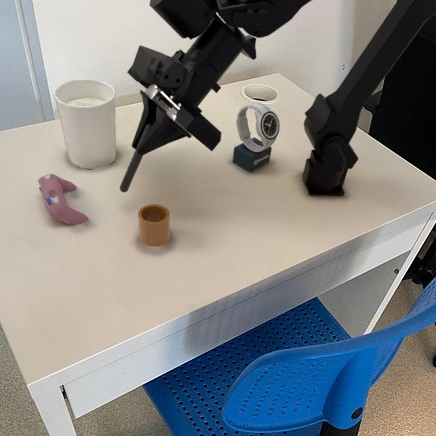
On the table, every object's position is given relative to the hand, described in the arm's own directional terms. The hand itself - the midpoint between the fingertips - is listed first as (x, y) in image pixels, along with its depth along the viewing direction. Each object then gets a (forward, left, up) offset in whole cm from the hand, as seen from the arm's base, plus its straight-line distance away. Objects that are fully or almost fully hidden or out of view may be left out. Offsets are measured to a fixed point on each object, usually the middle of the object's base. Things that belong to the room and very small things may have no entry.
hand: (136, 151), depth 72 cm
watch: (-20, -14, -11) cm, 27 cm away
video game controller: (+12, +1, -11) cm, 16 cm away
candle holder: (+9, -15, -11) cm, 21 cm away
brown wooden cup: (-2, +8, -11) cm, 14 cm away
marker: (0, 0, -7) cm, 7 cm away
